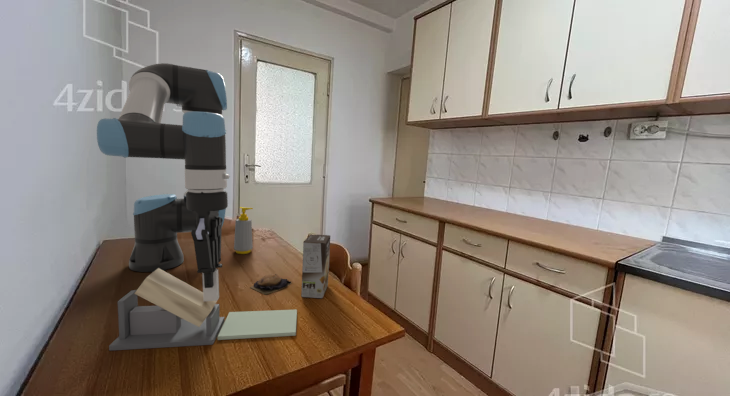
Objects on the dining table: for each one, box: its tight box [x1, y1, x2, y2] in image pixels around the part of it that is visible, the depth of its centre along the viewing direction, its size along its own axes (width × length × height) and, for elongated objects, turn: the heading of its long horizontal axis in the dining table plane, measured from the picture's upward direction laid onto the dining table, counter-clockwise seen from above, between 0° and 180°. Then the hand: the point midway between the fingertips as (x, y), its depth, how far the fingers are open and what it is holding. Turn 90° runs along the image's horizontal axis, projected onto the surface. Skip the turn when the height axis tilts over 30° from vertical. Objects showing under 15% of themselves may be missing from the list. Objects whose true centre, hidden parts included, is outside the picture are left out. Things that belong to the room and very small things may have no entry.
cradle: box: [108, 289, 225, 351], centre depth 63 cm, size 9×18×9 cm, turn 101°
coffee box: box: [300, 233, 331, 299], centre depth 88 cm, size 9×6×16 cm
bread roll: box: [249, 273, 292, 295], centre depth 90 cm, size 11×8×4 cm
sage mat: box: [217, 308, 298, 341], centre depth 69 cm, size 10×16×1 cm, turn 101°
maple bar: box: [134, 268, 218, 327], centre depth 63 cm, size 5×14×4 cm
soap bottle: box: [233, 206, 254, 255], centre depth 118 cm, size 7×7×18 cm
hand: (211, 299), depth 64 cm, fingers closed
